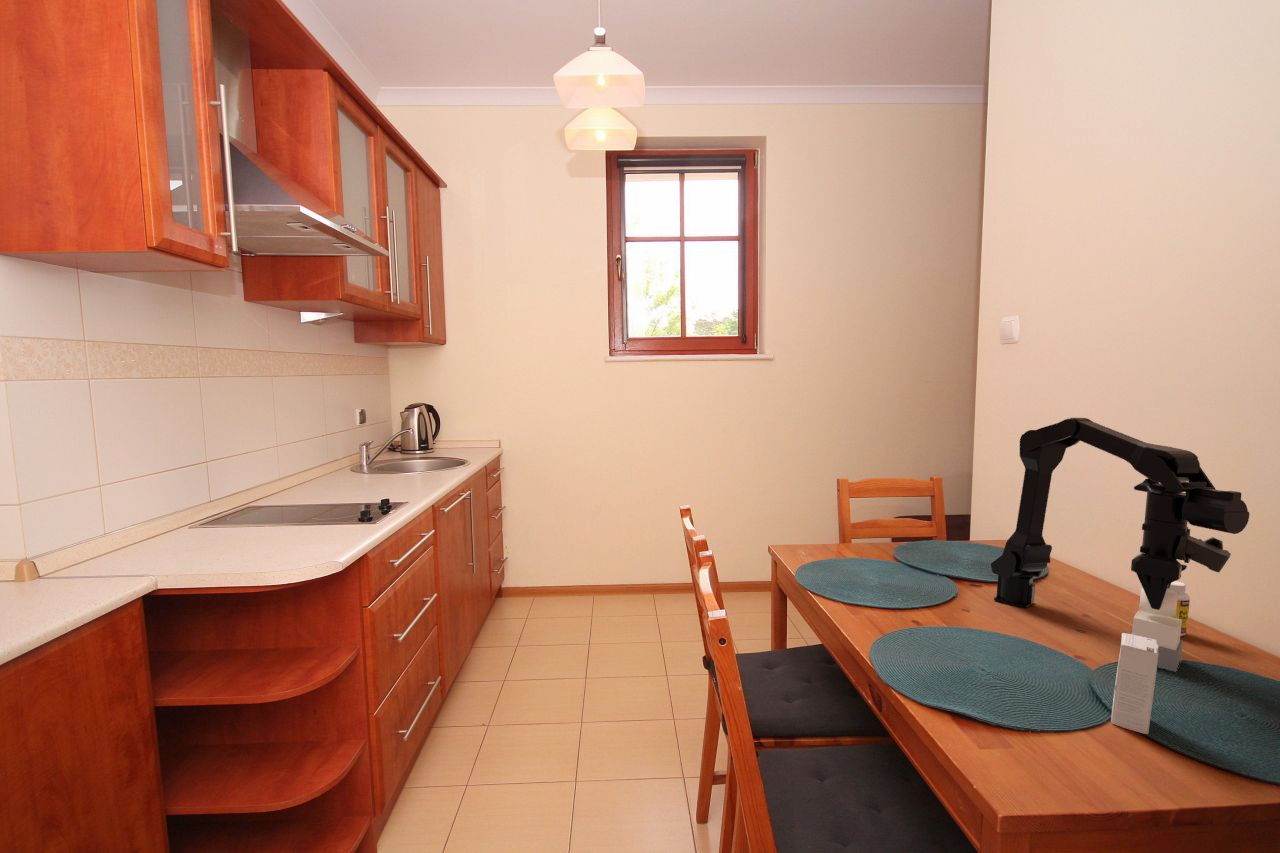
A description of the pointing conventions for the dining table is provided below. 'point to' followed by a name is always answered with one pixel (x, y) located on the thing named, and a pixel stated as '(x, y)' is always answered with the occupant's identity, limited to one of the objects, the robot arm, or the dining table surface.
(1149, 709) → the skincare box
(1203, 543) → the robot arm
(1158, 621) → the tower top
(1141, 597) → the white rounded cylinder
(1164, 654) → the tower base
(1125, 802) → the dining table surface
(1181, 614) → the supplement bottle
